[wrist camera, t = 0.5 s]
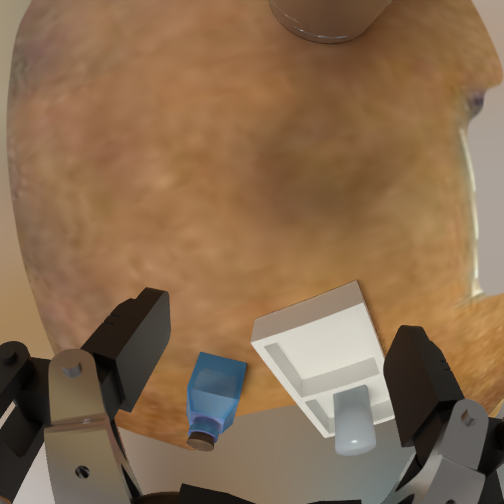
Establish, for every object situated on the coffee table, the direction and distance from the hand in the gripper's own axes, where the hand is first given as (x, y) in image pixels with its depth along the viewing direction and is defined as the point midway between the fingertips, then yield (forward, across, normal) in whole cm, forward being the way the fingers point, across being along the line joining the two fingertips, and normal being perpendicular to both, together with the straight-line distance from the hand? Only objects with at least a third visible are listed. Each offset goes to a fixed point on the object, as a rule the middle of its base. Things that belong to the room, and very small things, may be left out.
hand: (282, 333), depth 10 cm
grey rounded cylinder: (+19, -13, +24) cm, 34 cm away
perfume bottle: (+21, +5, +24) cm, 32 cm away
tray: (+20, -10, +20) cm, 30 cm away
